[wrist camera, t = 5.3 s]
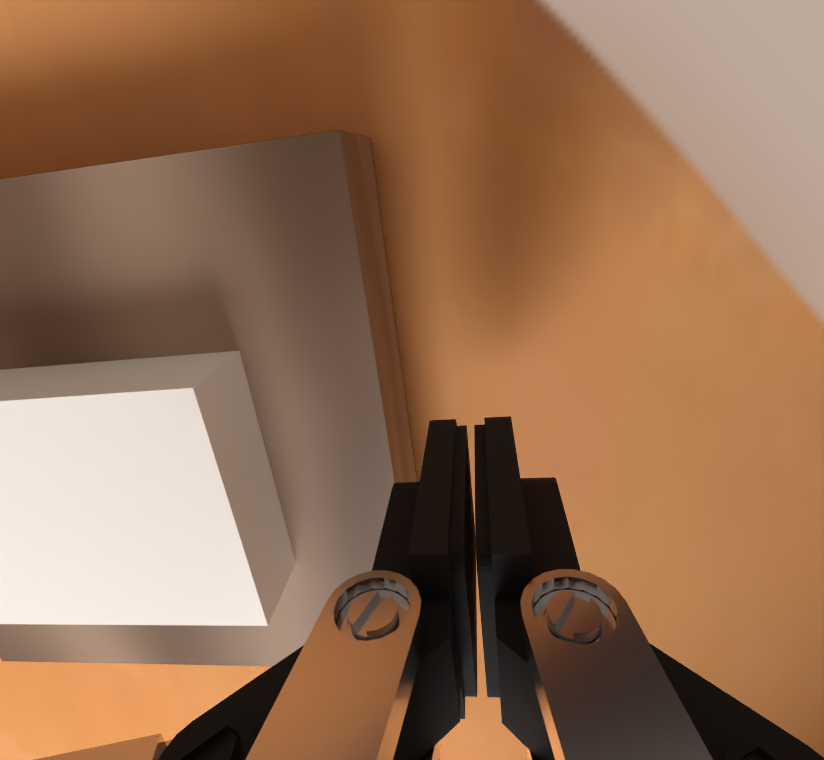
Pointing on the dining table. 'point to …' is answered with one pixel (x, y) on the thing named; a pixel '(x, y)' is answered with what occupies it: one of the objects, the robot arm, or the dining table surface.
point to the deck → (227, 345)
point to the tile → (137, 496)
